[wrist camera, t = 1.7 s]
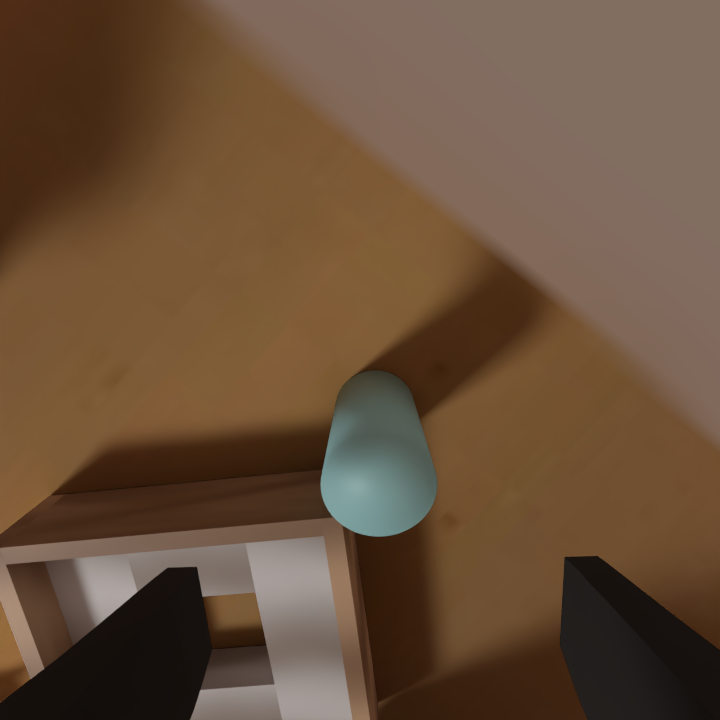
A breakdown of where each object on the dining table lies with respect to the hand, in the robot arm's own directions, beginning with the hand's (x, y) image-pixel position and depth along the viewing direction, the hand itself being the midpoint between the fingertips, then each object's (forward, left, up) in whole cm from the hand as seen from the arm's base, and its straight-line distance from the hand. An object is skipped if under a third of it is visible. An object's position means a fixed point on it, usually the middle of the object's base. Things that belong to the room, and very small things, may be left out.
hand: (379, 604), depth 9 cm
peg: (0, 0, -10) cm, 10 cm away
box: (+9, -8, -10) cm, 15 cm away
